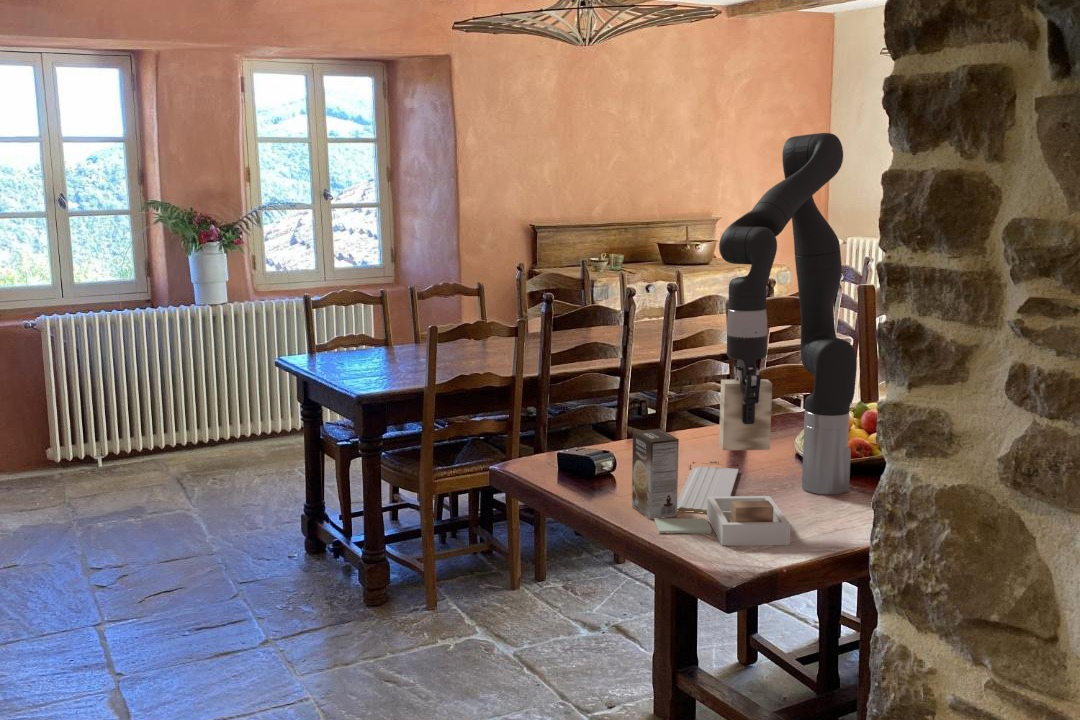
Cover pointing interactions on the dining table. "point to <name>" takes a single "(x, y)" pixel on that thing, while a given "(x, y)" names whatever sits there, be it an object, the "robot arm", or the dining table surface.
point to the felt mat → (683, 525)
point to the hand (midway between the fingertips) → (745, 420)
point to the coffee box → (655, 473)
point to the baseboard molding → (705, 487)
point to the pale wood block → (731, 424)
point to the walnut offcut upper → (751, 511)
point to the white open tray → (746, 524)
